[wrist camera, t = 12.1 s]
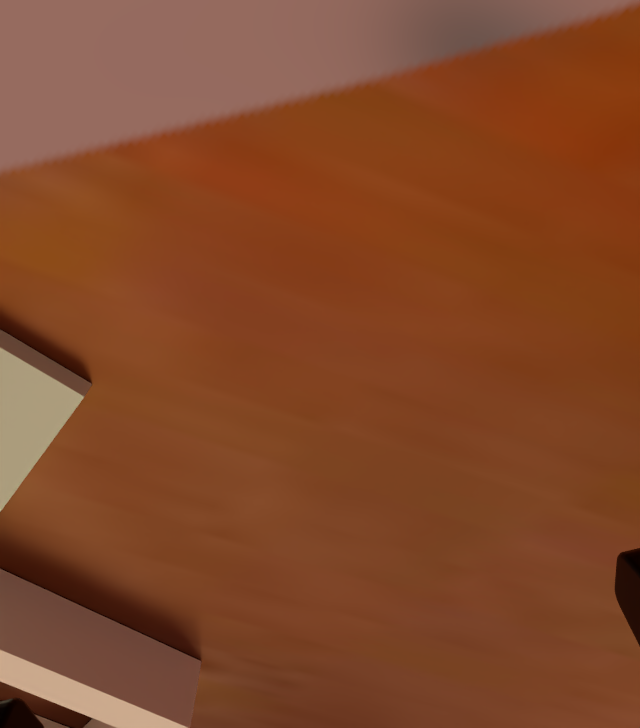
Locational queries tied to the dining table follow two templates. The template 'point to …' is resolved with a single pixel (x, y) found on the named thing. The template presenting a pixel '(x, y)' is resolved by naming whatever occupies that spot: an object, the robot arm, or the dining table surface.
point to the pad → (31, 408)
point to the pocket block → (91, 662)
